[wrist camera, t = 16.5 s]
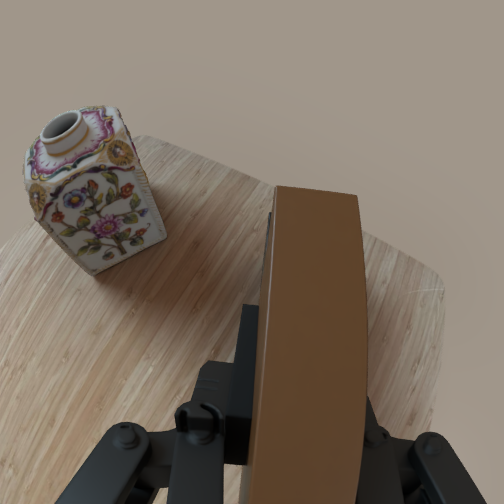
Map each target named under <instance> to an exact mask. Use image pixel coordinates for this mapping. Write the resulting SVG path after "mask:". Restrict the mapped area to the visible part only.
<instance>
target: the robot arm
mask: <svg viewBox="0 0 504 504" xmlns="http://www.w3.org/2000/svg"><path fill="white" fill-rule="evenodd" d="M258 316H259V306H258V305H247V304H243V308H242V314H241V321H240V327H239V333H238V339H237V345H236V352H235V358H234V363H226V362H218V361H210V360H208V361H207V362H206V363H205V364H204V365H203V366H202V367H201V368H200V372H199V375H198V379H197V382H196V385H195V388H194V392H193V395H192V398H191V401H189V402H186V403H183V404H182V405H181V406H180V407H178V408H177V410H176V412H175V414H174V416H175V423H176V428H175V429H172V430H169V431H162V432H147V431H146V430H145V429H144V428H143V427H142V426H140V425H138V424H136V423H131V422H121V423H118V424H115V425H113V426H112V427H111V428H110V429H108V430H107V432H106V433H105V434H104V436H103V437H102V439H101V440H100V441H99V443H98V444H97V445H96V447H95V448H94V449H93V451H92V452H91V454H90V455H89V456H88V458H87V459H86V460H85V462H84V463H83V465H82V466H81V467H80V469H79V470H78V472H77V473H76V474H75V476H74V477H73V478H72V480H71V481H70V483H69V484H68V485H67V487H66V488H65V490H64V491H63V492H62V494H61V495H60V497H59V498H58V499H57V501H56V502H55V504H152V503H153V501H154V499H155V497H156V495H157V493H158V491H159V489H160V488H167V487H169V488H168V496H167V503H166V504H223V492H224V464H233V465H244V466H245V465H246V458H247V451H248V444H249V436H250V429H251V422H252V411H253V396H254V380H255V365H256V349H257V332H258ZM355 504H487V503H486V502H485V500H484V498H483V497H482V495H481V493H480V492H479V490H478V488H477V487H476V485H475V483H474V482H473V480H472V479H471V477H470V475H469V474H468V472H467V470H466V469H465V467H464V466H463V464H462V463H461V461H460V459H459V458H458V457H457V455H456V453H455V452H454V450H453V449H452V447H451V446H450V444H449V443H448V441H447V440H446V439H445V438H444V437H443V436H441V435H440V434H438V433H435V432H425V433H422V434H421V435H419V436H418V437H417V439H416V440H415V441H413V440H405V439H398V438H394V437H391V436H390V434H389V432H388V431H387V430H386V429H385V428H383V427H381V426H379V425H378V423H377V420H376V417H375V415H374V412H373V409H372V406H371V403H370V400H369V397H368V396H367V401H366V417H365V430H364V441H363V451H362V460H361V468H360V475H359V482H358V489H357V495H356V501H355Z"/></svg>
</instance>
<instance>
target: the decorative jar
mask: <svg viewBox="0 0 504 504" xmlns="http://www.w3.org/2000/svg"><path fill="white" fill-rule="evenodd" d="M23 177H24V184H25V188H26V191H27V193H28V196H29V201H30V205H31V207H32V209H33V212H34V215H35V217H34V219H35V220H36V221H37V222H38V223H39V224H40V225H41V226H42V227H43V229H44V230H45V231H46V232H47V233H48V234H49V235H50V236H51V237H52V238H53V239H54V241H55V242H56V243H57V244H58V245H59V246H60V247H61V248H62V249H63V250H64V251H65V252H66V253H67V254H68V256H70V257H71V258H72V259H73V260H74V261H75V262H76V263H77V264H78V265H79V266H80V267H81V268H82V269H83V270H84V271H85V272H87V273H88V274H89V275H91V276H94V275H96V274H98V273H100V272H101V271H103V270H105V269H107V268H109V267H111V266H113V265H115V264H117V263H119V262H121V261H123V260H125V259H127V258H129V257H130V256H132V255H134V254H136V253H138V252H140V251H142V250H144V249H146V248H148V247H149V246H152V245H154V244H156V243H158V242H160V241H162V240H164V239H165V238H166V237H167V232H166V229H165V227H164V224H163V221H162V218H161V216H160V213H159V210H158V208H157V206H156V203H155V201H154V198H153V195H152V192H151V190H150V187H149V181H148V178H147V176H146V173H145V171H144V170H143V168H142V166H141V164H140V159H139V158H138V155H137V152H136V149H135V146H134V144H133V142H132V140H131V136H130V132H129V131H128V130H127V127H126V125H124V122H123V119H122V118H121V114H120V112H119V110H118V109H117V108H116V107H109V106H89V107H88V106H87V107H82V108H80V109H78V110H72V111H68V112H65V113H62V114H60V115H58V116H56V117H55V118H53V119H52V120H51V121H50V122H49V123H48V124H47V125H46V126H45V127H44V129H43V130H42V132H41V134H40V136H38V137H37V138H36V140H35V141H34V142H33V144H32V145H31V146H30V147H29V149H28V150H27V152H26V153H25V156H24V164H23Z"/></svg>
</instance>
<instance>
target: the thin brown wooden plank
mask: <svg viewBox="0 0 504 504" xmlns="http://www.w3.org/2000/svg"><path fill="white" fill-rule="evenodd" d="M258 306H259V316H258V332H257V349H256V365H255V380H254V396H253V411H252V422H251V429H250V436H249V444H248V451H247V458H246V465H245V466H244V465H242V473H241V483H240V492H239V504H355V501H356V495H357V489H358V482H359V475H360V468H361V460H362V451H363V441H364V430H365V417H366V401H367V376H368V320H367V294H366V277H365V263H364V251H363V240H362V231H361V222H360V214H359V205H358V198H357V196H356V195H352V194H345V193H338V192H330V191H322V190H314V189H305V188H296V187H286V186H276V187H275V191H274V198H273V206H272V213H271V220H270V228H269V235H268V242H267V249H266V256H265V263H264V270H263V277H262V284H261V291H260V298H259V305H258Z"/></svg>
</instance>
